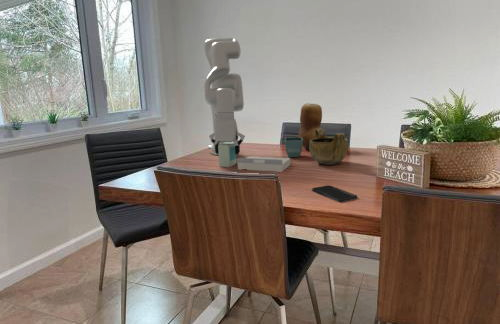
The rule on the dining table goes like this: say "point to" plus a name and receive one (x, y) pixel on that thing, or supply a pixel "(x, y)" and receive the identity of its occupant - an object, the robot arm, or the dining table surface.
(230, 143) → the carton
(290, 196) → the dining table surface
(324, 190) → the phone
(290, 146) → the flower pot
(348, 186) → the dining table surface
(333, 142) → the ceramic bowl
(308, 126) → the butternut squash
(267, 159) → the flat grey box
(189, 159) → the dining table surface
